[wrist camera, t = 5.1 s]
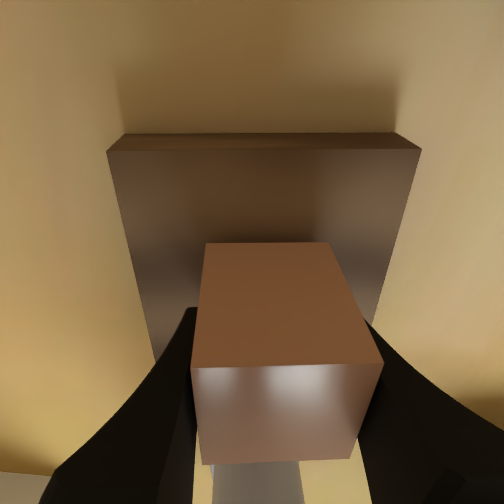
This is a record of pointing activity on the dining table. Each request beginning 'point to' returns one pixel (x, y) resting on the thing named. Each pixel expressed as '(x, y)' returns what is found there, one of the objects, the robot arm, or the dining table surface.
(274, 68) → the dining table surface
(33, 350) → the dining table surface
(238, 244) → the terracotta block
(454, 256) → the dining table surface
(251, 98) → the dining table surface
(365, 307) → the walnut base slab
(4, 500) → the milk
